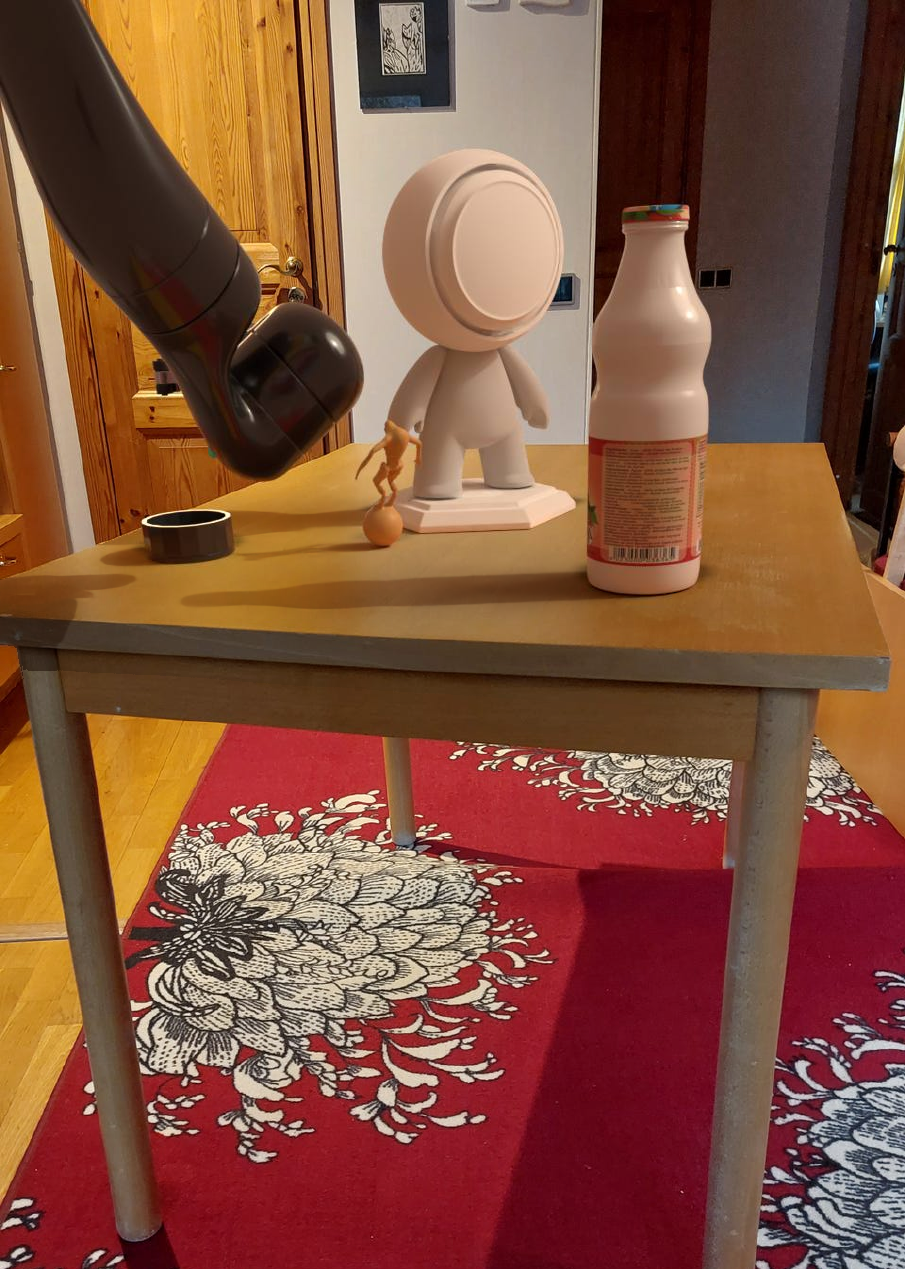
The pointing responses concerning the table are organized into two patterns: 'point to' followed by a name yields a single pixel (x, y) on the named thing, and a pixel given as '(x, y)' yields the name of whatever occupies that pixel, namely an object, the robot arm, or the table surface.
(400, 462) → the figurine
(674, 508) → the fruit juice
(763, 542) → the table surface
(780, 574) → the table surface
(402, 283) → the big headed doll
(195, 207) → the robot arm
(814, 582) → the table surface
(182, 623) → the table surface
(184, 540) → the tape roll
